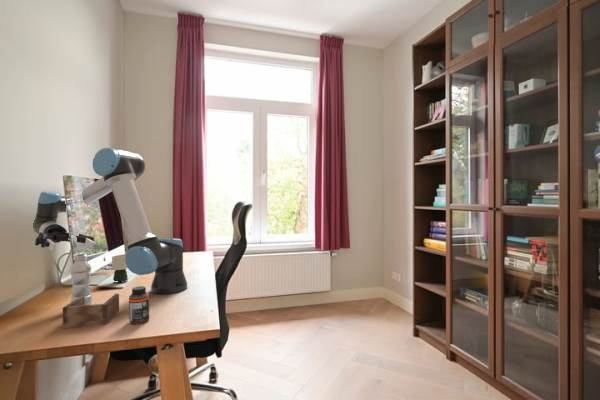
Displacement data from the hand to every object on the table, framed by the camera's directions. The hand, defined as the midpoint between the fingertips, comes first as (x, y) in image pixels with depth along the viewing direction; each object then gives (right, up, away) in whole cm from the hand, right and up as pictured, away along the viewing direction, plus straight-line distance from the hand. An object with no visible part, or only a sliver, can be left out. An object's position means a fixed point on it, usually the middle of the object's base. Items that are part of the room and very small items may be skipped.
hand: (74, 246), depth 125 cm
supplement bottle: (+35, -22, -19) cm, 46 cm away
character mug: (0, -23, +32) cm, 39 cm away
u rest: (+18, -22, -17) cm, 33 cm away
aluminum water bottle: (+6, -23, -5) cm, 24 cm away
